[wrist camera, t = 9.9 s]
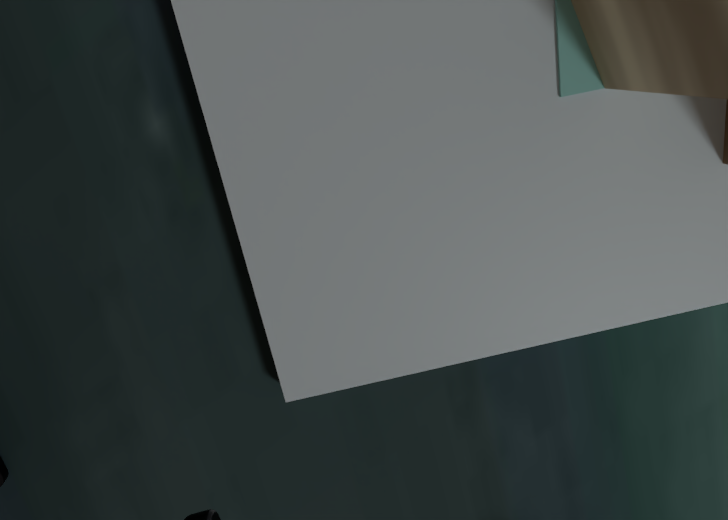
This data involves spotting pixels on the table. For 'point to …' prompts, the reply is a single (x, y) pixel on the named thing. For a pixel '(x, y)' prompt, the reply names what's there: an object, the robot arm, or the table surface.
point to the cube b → (726, 137)
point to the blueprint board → (448, 181)
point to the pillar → (659, 44)
